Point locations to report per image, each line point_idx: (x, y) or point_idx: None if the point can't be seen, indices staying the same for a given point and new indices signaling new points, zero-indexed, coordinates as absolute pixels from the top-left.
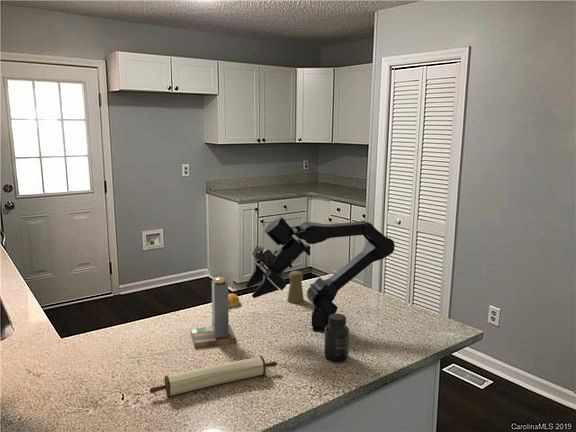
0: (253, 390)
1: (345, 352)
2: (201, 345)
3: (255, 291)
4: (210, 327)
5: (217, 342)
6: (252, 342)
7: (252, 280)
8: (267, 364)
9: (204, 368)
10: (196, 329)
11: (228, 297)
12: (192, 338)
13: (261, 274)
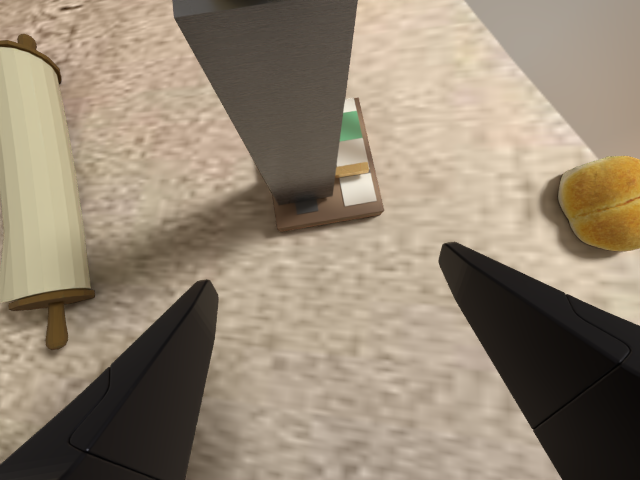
0: None
1: None
2: None
3: (169, 313)
4: (362, 151)
5: None
6: (276, 283)
7: (492, 302)
8: (49, 318)
9: (11, 129)
10: (349, 112)
11: (622, 203)
12: None
13: (604, 452)
